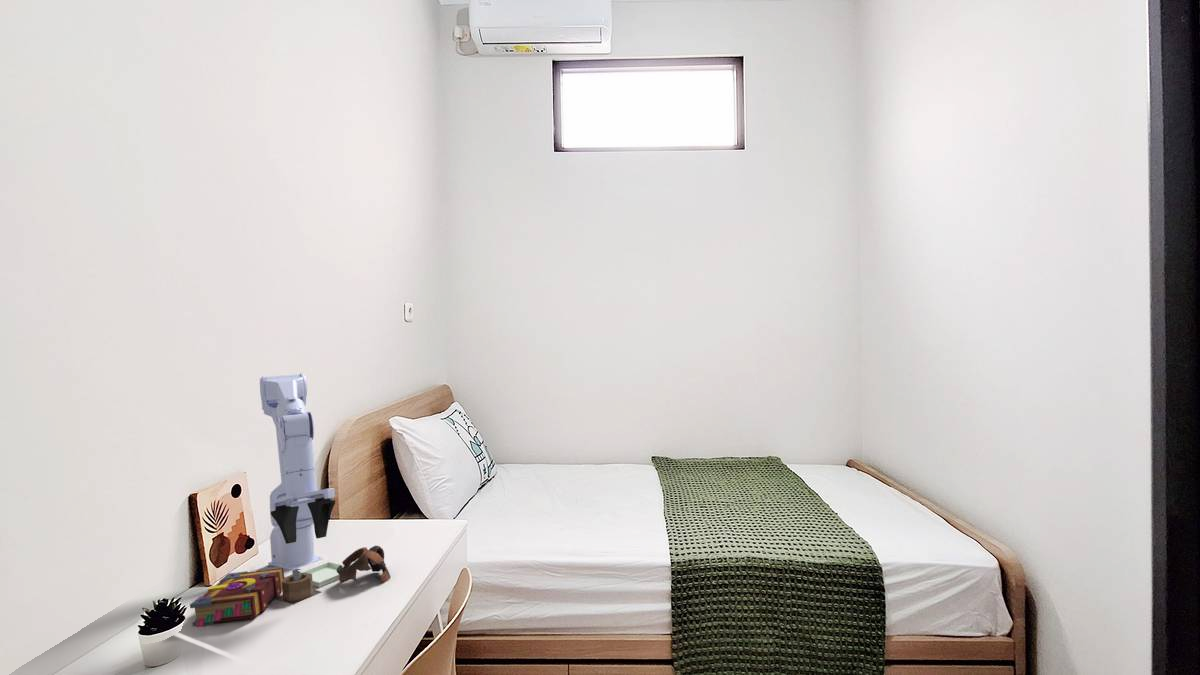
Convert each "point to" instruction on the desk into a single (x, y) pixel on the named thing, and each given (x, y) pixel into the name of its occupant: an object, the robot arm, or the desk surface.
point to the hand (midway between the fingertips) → (306, 540)
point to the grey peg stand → (296, 577)
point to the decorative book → (238, 596)
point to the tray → (324, 573)
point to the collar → (297, 587)
